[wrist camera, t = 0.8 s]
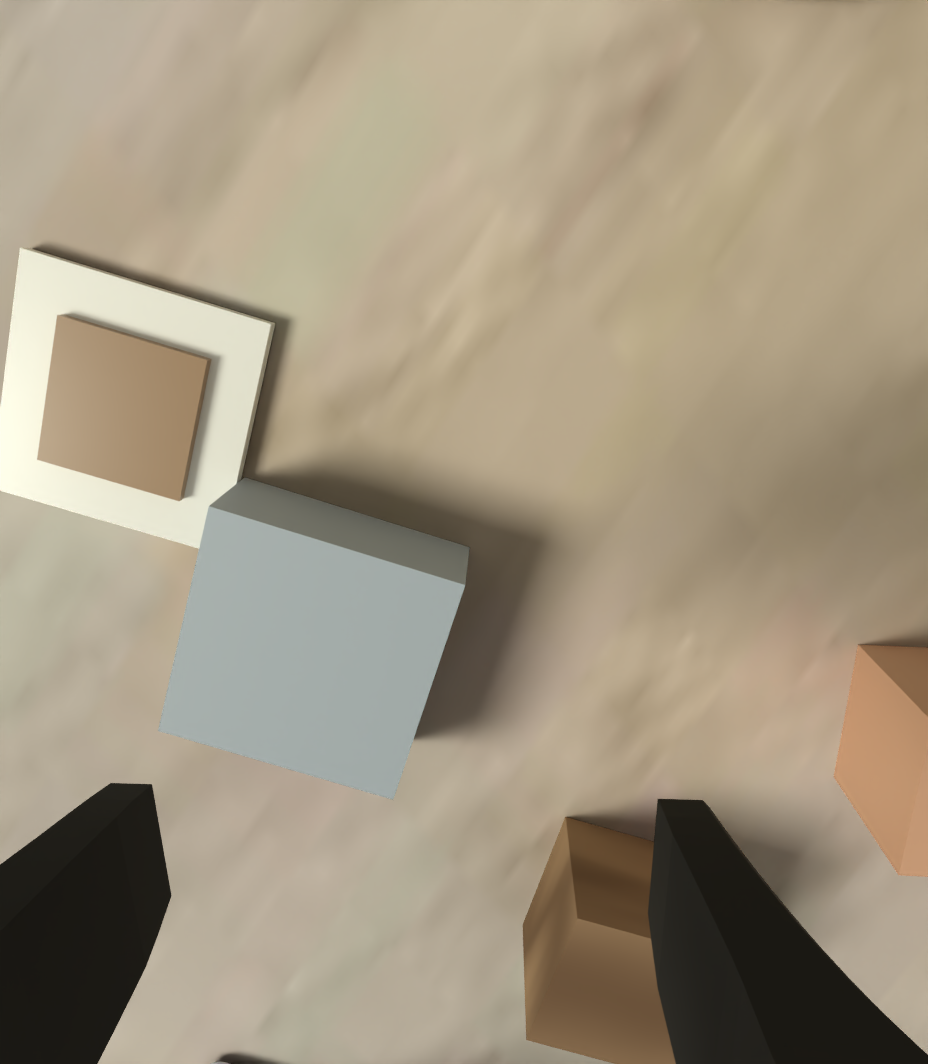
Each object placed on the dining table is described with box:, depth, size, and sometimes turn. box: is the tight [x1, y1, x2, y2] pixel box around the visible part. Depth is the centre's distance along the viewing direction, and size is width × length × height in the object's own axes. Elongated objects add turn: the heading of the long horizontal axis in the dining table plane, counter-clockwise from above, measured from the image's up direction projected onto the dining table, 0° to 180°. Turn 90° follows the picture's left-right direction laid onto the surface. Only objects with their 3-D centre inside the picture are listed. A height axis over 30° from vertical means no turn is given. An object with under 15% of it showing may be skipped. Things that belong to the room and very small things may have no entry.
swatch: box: [0, 248, 275, 548], centre depth 20 cm, size 6×6×1 cm
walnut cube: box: [523, 817, 676, 1064], centre depth 23 cm, size 4×4×4 cm
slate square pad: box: [158, 477, 470, 800], centre depth 21 cm, size 6×6×3 cm
